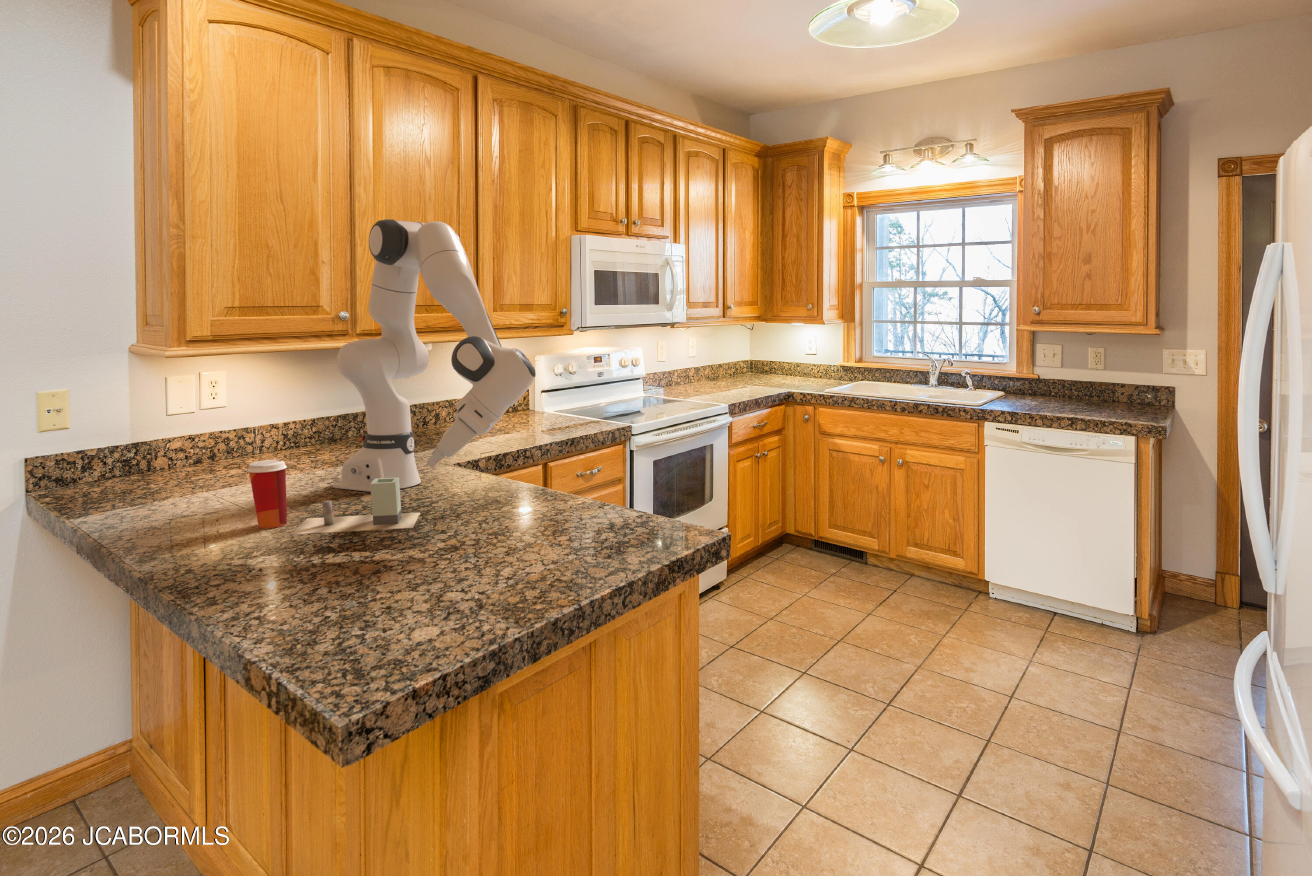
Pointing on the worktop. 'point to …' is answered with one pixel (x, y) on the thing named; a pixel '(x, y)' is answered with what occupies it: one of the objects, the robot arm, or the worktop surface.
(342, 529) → the pin board
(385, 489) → the sleeve
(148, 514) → the worktop surface
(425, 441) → the worktop surface
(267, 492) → the paper cup
